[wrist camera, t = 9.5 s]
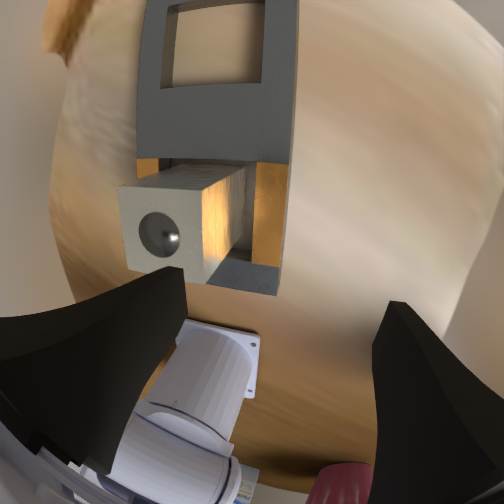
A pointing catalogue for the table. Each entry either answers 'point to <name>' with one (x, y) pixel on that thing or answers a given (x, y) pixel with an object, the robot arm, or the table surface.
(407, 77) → the table surface
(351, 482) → the plant pot
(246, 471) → the medicine box
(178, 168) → the grey rectangular block
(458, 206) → the table surface
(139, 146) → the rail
